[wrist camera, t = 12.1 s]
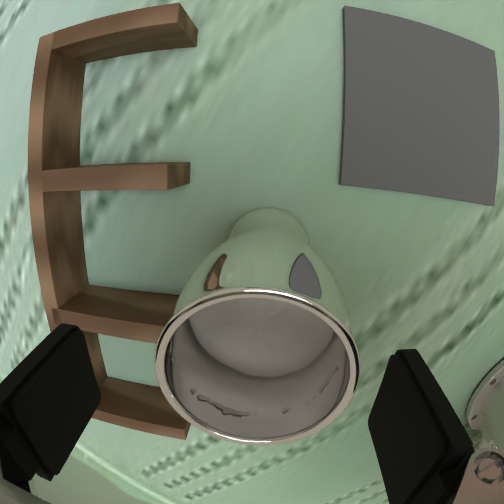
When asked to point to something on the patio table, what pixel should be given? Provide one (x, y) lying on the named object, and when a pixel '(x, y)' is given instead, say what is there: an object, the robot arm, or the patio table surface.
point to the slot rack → (97, 178)
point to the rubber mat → (418, 109)
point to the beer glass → (259, 338)
